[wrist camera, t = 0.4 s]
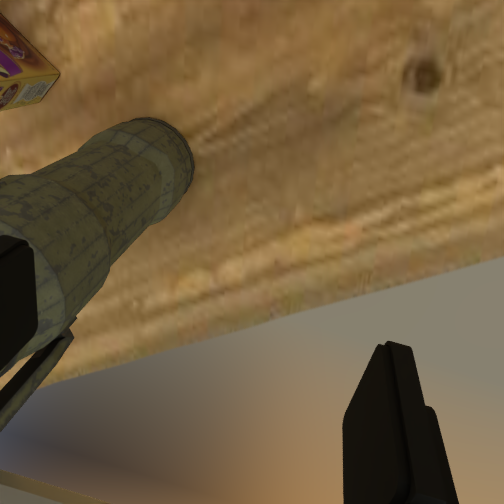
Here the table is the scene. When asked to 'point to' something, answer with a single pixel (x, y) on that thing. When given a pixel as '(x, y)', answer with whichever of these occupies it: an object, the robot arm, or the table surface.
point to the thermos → (86, 229)
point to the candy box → (21, 70)
